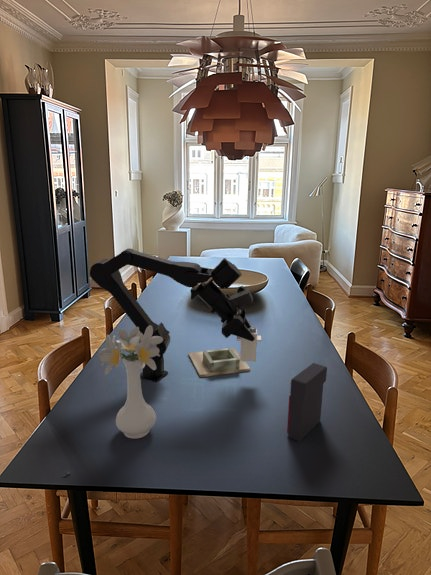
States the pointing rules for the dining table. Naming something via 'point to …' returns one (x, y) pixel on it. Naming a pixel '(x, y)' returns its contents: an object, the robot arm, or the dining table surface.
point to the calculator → (305, 401)
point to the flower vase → (133, 377)
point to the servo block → (249, 346)
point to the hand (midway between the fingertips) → (253, 337)
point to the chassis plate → (218, 362)
